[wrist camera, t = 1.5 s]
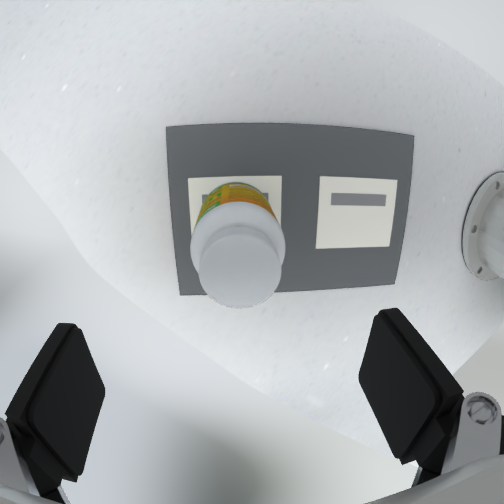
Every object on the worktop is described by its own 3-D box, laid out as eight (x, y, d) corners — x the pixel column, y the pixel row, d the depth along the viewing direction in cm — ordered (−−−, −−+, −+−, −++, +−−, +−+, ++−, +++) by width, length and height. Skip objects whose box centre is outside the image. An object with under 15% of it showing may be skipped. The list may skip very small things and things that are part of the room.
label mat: (413, 135, 22) (415, 135, 22) (393, 283, 27) (395, 284, 27) (166, 127, 21) (165, 126, 20) (180, 294, 26) (179, 296, 26)
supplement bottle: (214, 170, 22) (204, 202, 13) (281, 195, 23) (315, 242, 14) (191, 234, 24) (170, 302, 15) (254, 256, 25) (269, 331, 16)
